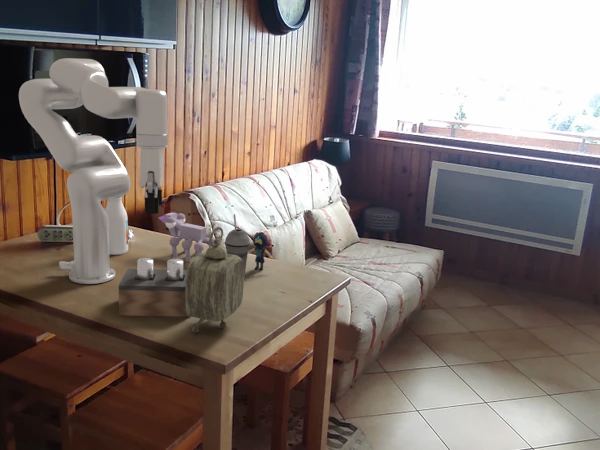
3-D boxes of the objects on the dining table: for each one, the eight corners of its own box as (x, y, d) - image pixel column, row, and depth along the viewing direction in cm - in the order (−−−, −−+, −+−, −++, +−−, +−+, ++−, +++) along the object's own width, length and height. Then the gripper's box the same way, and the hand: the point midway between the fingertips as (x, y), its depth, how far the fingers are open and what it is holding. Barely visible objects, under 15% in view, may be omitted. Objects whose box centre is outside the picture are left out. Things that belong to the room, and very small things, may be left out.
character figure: (242, 268, 188) (244, 231, 185) (249, 264, 192) (250, 228, 189) (269, 274, 185) (271, 236, 182) (275, 270, 189) (277, 233, 185)
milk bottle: (124, 256, 193) (123, 194, 187) (100, 254, 193) (98, 193, 187) (131, 248, 200) (130, 189, 195) (107, 247, 200) (106, 187, 195)
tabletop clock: (211, 312, 156) (213, 218, 149) (243, 318, 153) (247, 223, 147) (184, 335, 142) (186, 233, 136) (220, 342, 140) (223, 239, 133)
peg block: (119, 315, 150) (118, 285, 148) (128, 296, 162) (127, 268, 160) (190, 316, 152) (191, 287, 150) (194, 298, 164) (194, 270, 162)
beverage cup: (244, 286, 174) (247, 219, 169) (220, 283, 175) (222, 216, 170) (251, 277, 181) (254, 213, 176) (228, 274, 182) (230, 210, 177)
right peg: (166, 292, 154) (166, 263, 152) (168, 286, 158) (168, 258, 156) (182, 292, 155) (182, 264, 152) (183, 286, 158) (184, 258, 156)
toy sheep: (147, 254, 195) (148, 213, 192) (167, 247, 205) (169, 208, 202) (199, 266, 188) (201, 223, 184) (218, 259, 197) (220, 218, 194)
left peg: (136, 291, 153) (135, 262, 151) (138, 285, 157) (138, 257, 155) (152, 292, 154) (152, 263, 152) (154, 286, 158) (154, 258, 156)
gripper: (140, 136, 157) (142, 201, 161) (132, 145, 140) (134, 217, 145) (170, 137, 158) (171, 201, 162) (165, 146, 141) (166, 217, 146)
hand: (153, 208), depth 153 cm, fingers open, 9 cm apart
